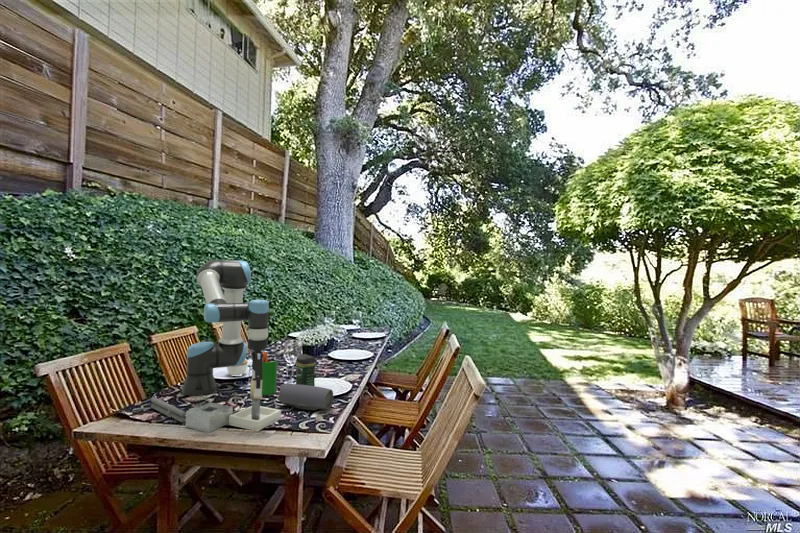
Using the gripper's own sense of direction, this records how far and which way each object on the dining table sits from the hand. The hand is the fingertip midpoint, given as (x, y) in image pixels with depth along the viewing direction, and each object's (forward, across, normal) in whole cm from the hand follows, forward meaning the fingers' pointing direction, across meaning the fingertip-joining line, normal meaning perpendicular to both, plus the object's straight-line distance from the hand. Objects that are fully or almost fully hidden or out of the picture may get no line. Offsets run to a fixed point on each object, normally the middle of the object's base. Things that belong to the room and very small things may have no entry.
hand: (256, 391), depth 165 cm
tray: (+12, 0, 0) cm, 12 cm away
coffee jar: (+13, -31, +26) cm, 42 cm away
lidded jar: (+13, -71, -5) cm, 73 cm away
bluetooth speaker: (+13, -9, +22) cm, 27 cm away
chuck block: (+12, -3, -17) cm, 21 cm away
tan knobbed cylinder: (+11, 0, 0) cm, 11 cm away
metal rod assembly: (+13, -18, -33) cm, 40 cm away
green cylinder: (+13, -37, +7) cm, 39 cm away
